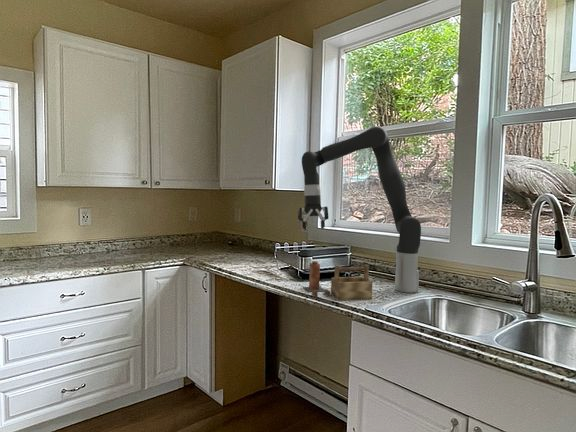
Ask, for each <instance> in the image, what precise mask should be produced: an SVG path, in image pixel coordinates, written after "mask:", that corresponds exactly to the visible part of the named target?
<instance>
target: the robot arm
mask: <svg viewBox="0 0 576 432" xmlns="http://www.w3.org/2000/svg"><path fill="white" fill-rule="evenodd" d="M366 149H372V152H373V154H374V156H375V159H376V163H377V170H378V175H379V180H380V183H381V186H382V189H383V192H384V194H385V197H386V200H387V201H388V204H389V207H390V209H391V211H392V216H393V221H394V225H395V229H396V231H397V233H398V234H399V235H398V237H399V239H398V244H397V245H396V255H395V256H396V257H395V274H394V275H395V276H394V277H395V278H394V279H395V281H394V290H395V291H397V292H400V293H401V292H402V293H407V294H408V293H411V294H412V293H416V292H419V284H420V283H419V281H420V270H419V269H418V264H419V263H418V262H419V260H418V259H419V249H420V246H421V238H422V237H421V236H422V234H421V233H422V225H421V221H420V220H419V219H417V218H416V217H414V216H412V213H411V212H410V209H409V206H408V202H407V197H406V196H407V195H406V194H407V192H406V187H405V186H406V185H405V182H404V178H403V176H402V173H401V171H400V169H399V166H398V164H397V161H396V159H395V157H394V155H393V152H392V148H391V143H390V139H389V135H388V132H387V130H386V129H385V128H384V127H382V126H379V125H373V126H371V127H369V128H368V129H366V130H364V131H362V132H361V133H359V134H357V135H354V136H352V137H349V138H347V139H343V140H341V141H338V142H334V143H331V144H329V145H326V146H324V147H322V148H321V149H319V150H317V151H314V152H313V151H305V152H304V153H303V154H302V157H301V167H302V172H303V175H304V176H303V179H304V191H303V196H304V207H298V209H297V220H298V221H299V222H301V228H302V229H303V230H304V231H305V230H307V222H306V221H307V219H308V218H309V217H318V218H319V219H320V229H321V230H324V228H326V227H325V226H326V224H325V221H326V220H329V217H330V216H329V209H328V206H322V204H321V203H322V200H321V196H322V195H321V187H320V173H318V171H317V167H320V166H322V165H324V164H326V163H328V162H331V161H332V162H333V161H335V160H337V159H340V158H343V157H346V156H347V155H350V154H352V153H354V152H357V151H362V150H366ZM303 212H305V214H303ZM321 212H323V213H324V214H323V213H321ZM303 215H304V216H303ZM323 215H324V216H323Z"/></svg>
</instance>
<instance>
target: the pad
mask: <svg viewBox="0 0 576 432" xmlns="http://www.w3.org/2000/svg"><path fill="white" fill-rule="evenodd" d="M302 289H304V291H306V293H312V290H311V289H310V288H309V286H302ZM316 291H317V292H318V293H323V292H325V289H324V288H323V287H321V286H320V285H319V290H316Z"/></svg>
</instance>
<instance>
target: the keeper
mask: <svg viewBox="0 0 576 432" xmlns="http://www.w3.org/2000/svg"><path fill="white" fill-rule="evenodd" d="M324 290H325V292H324V293H323V294H324V295H325V296H326V297H328V298H329V297H331V290H329V289H327V288H326V289H324ZM318 293H319V292H317V291H316V290H312V292H311V295H312V296H313V297H314V298H318Z"/></svg>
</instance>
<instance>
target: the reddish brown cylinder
mask: <svg viewBox="0 0 576 432" xmlns="http://www.w3.org/2000/svg"><path fill="white" fill-rule="evenodd" d="M320 270H321V264H320V263H318V261H317V260H316V261H315V260H312V262H311V263H310V262H309V279H308V281H309V283H308V285H309V286H308V287H309V288H310V289H311V290H319V286H320V277H321V276H320V275H321V273H320V272H321V271H320Z"/></svg>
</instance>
